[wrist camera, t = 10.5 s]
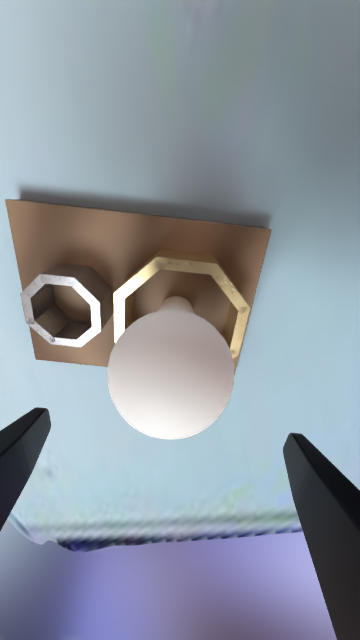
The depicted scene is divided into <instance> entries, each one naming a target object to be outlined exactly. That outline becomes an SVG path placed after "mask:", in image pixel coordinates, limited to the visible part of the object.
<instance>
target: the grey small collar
mask: <svg viewBox="0 0 360 640" xmlns="http://www.w3.org/2000/svg"><path fill="white" fill-rule="evenodd" d="M53 284H55V285H64V286H72V287H73V288H74V289H75V290H76V291H77V292H78V293H79V294H80V295H81V296H82V297H83V298H84V299H85V300H86V301H87V302H88V303H89V304H90V305H91V319H92V321H84V320H75V319H71V318H70V317H69V316H68V315H67V314H66V313H65V312H63V311H62V310H61V309H60V308H59V307H58V306H57V305H56V302H55V295H54V287H53ZM20 295H21V300H22V305H23V310H24V315H25V320H26V323H27V324H28V325H29V326H30V327H31V328H32V329H34V330H35V331H36V332H37V333H38V334H40V335H41V336H42V337H43V338H44V339H45V340H47V341H48V342H49V343H50V344H55V345H64V346H73V347H82V346H83V345H84V344H85V343H87V342H88V341H89V340H90V339H92V338H93V337H94V336H95V335H97V334H98V333H99V332H100V331H101V330H102V329H103V328H104V326H105V325H106V323H107V322H108V320H109V319H110V317H111V316H112V315H113V288H112V287H111V286H110V285H109V284H108V283H107V282H106V281H105V280H104V279H103V278H102V277H101V276H100V275H99V274H98V272H97V271H96V270H95V269H94V268H93V267H92V266H84V265H75V264H65V263H62V264H59V265H57V266H55V267H53V268H51V269H49V270H47V271H45V272H43V273H40V275H39V276H38V277H37V278H36V279H35V280H34V281H33V282H32V283H31V284H30V285H29V286H28V287H27V288H26V289H25V290H24V291H23V292H22V293H21V294H20Z"/></svg>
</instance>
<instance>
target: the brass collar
mask: <svg viewBox="0 0 360 640" xmlns="http://www.w3.org/2000/svg"><path fill="white" fill-rule="evenodd" d="M160 269H164V270H173V271H182V272H191V273H200V274H209V275H211V276H212V277H213V278H214V280H215V281H216V282H217V284H218V285H219V286H220V288H221V289H222V290H223V291H224V293H225V294H226V295H227V297H228V298H229V299H230V305H229V309H228V314H227V319H226V324H225V329H224V331H223V332H221V333H220V334H221V335H222V337H223V338H224V339H225V341H226V343H227V345H228V347H229V349H230V352H231V355H232V359H233V358H235V357H236V356H238V355H239V351H240V347H241V343H242V339H243V335H244V331H245V327H246V323H247V319H248V315H249V311H250V307H249V305H248V303H247V302H246V300H245V298H244V297H243V295H242V293H241V292H240V290H239V289H238V288H237V286H236V285H235V284H234V282H233V281H232V280H231V278H230V277H229V275H228V274H227V273H226V271H225V270H224V269H223V267H222V266H221V265H220V263H219V262H218V261H217V259H216V258H215V257H214V255H213V254H205V253H196V252H188V251H179V250H170V249H160V250H159V251H158V252H157V253H156V254H155V255H153V256H152V257H151V258H150V259H149V260H148V261H146V262H145V263H144V264H143V265H142V266H141V267H139V268H138V269H137V270H136V271H135V272H134V273H132V274H131V275H130V276H129V277H128V278H127V279H125V280H124V281H123V283H122V284H121V285H120V286H119V287H118V289H117V290H116V291H115V292H114V338H115V343H116V341H117V339H118V338H119V337H120V335H121V334H122V333H123V332H124V330H125V329H127V328H128V327H129V326H130V325H131V324H132V323H134V321H133V308H134V290H136V289H137V288H138V287H139V286H140V285H142V284H143V283H144V282H145V281H146V280H148V279H149V278H150V277H151V276H153V275H154V274H155V273H156V272H157V271H159V270H160Z"/></svg>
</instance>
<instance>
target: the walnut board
mask: <svg viewBox="0 0 360 640" xmlns="http://www.w3.org/2000/svg"><path fill="white" fill-rule="evenodd" d="M5 202H6V207H7V212H8V217H9V223H10V228H11V233H12V238H13V243H14V249H15V254H16V259H17V264H18V270H19V275H20V280H21V285H22V290H23V291H24V290H25V289H26V288H27V287H28V286H29V285H30V284H31V283H32V282H33V281H34V280H35V279H36V278H37V277H38V276H39V275H40V273H43V272H45V271H47V270H49V269H51V268H53V267H55V266H57V265H59V264H62V263H65V264H75V265H84V266H92V267H93V268H94V269H95V270H96V271H97V272H98V274H99V275H100V276H101V277H102V278H103V279H104V280H105V281H106V282H107V283H108V284H109V285H110V286H111V287H112V288H113V315H112V316H111V317H110V319H109V320H108V322H107V323H106V325H105V326H104V328H103V329H102V330H101V331H100V332H99V333H98V334H97V335H95V336H94V337H93V338H92V339H90V340H89V341H88V342H87V343H85V344H84V345H83V346H82V347H73V346H64V345H55V344H50V343H49V342H48V341H47V340H45V339H44V338H43V337H42V336H41V335H40V334H38V333H37V332H36V331H35V330H34V329H32V328H31V327H30V326H29V327H30V332H31V337H32V343H33V348H34V353H35V358H36V359H37V360H47V361H56V362H66V363H75V364H85V365H94V366H104V367H108V363H109V358H110V354H111V352H112V350H113V348H114V346H115V344H116V343H115V338H114V292H115V291H116V290H117V289H118V287H119V286H120V285H121V284H122V283H123V281H124V280H125V279H127V278H128V277H129V276H130V275H131V274H132V273H134V272H135V271H136V270H137V269H138V268H139V267H141V266H142V265H143V264H144V263H145V262H146V261H148V260H149V259H150V258H151V257H152V256H153V255H155V254H156V253H157V252H158V251H159V250H160V249H170V250H179V251H188V252H196V253H205V254H213V255H214V257H215V258H216V259H217V261H218V262H219V263H220V265H221V266H222V267H223V269H224V270H225V271H226V273H227V274H228V275H229V277H230V278H231V280H232V281H233V282H234V284H235V285H236V286H237V288H238V289H239V290H240V292H241V293H242V295H243V297H244V298H245V300H246V302H247V303H248V305H249V307H250V311H249V315H248V319H247V323H246V327H245V331H246V328H247V324H248V320H249V316H250V312H251V308H252V304H253V300H254V296H255V292H256V288H257V284H258V280H259V276H260V272H261V268H262V264H263V260H264V256H265V253H266V249H267V245H268V241H269V237H270V233H271V230H270V229H267V228H263V227H254V226H245V225H237V224H228V223H219V222H210V221H202V220H193V219H184V218H175V217H167V216H158V215H149V214H140V213H132V212H123V211H114V210H105V209H97V208H88V207H79V206H70V205H62V204H53V203H44V202H35V201H27V200H10V199H5ZM53 287H54V295H55V302H56V305H57V306H58V307H59V308H60V309H61V310H62V311H63V312H65V313H66V314H67V315H68V316H69V317H70V318H71V319H75V320H84V321H92V319H91V305H90V304H89V303H88V302H87V301H86V300H85V299H84V298H83V297H82V296H81V295H80V294H79V293H78V292H77V291H76V290H75V289H74V288H73V287H72V286H64V285H55V284H53ZM172 296H180V297H183V298H185V299H186V300H188V301H189V302H190V304H191V306H192V308H193V312H194V313H195V314H196V315H197V316H199V317H201V318H203V319H205V320H206V321H208V322H209V323H210V324H212V325H213V326H214V327H215V328H216V329H217V331H218V332H219V333H221V332H223V331H224V329H225V324H226V319H227V314H228V309H229V305H230V299H229V298H228V297H227V295H226V294H225V293H224V291H223V290H222V289H221V288H220V286H219V285H218V284H217V282H216V281H215V280H214V278H213V277H212V276H211V275H209V274H200V273H191V272H182V271H173V270H164V269H160V270H159V271H157V272H156V273H155V274H154V275H153V276H151V277H150V278H149V279H148V280H146V281H145V282H144V283H143V284H142V285H140V286H139V287H138V288H137V289H136V290H134V308H133V321H134V322H135V321H136V320H138V319H139V318H141V317H143V316H145V315H147V314H150V313H153V312H157V310H158V309H160V307H161V305H162V303H163V302H164V300H166V299H167V298H169V297H172ZM245 331H244V335H245ZM244 335H243V339H244ZM243 339H242V343H243ZM242 343H241V347H242ZM241 347H240V351H241ZM240 351H239V355H240ZM239 355H238V356H236V357H235V358H233V363H234V375H235V371H236V367H237V363H238V359H239Z"/></svg>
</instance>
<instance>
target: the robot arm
mask: <svg viewBox="0 0 360 640" xmlns="http://www.w3.org/2000/svg"><path fill="white" fill-rule="evenodd" d="M50 428H51V421H50V416H49V411H48V409H46V408H34V409H33V410H31V411H30V412H28V413H27V414H25V415H24V416H22V417H20V418H19V419H17V420H16V421H14V422H13V423H11V424H10V425H8V426H7V427H5V428H4V429H2V430H1V431H0V531H1V529H2V527H3V525H4V523H5V522H6V520H7V518H8V516H9V514H10V512H11V510H12V509H13V507H14V505H15V503H16V501H17V499H18V498H19V496H20V494H21V492H22V490H23V488H24V487H25V485H26V483H27V481H28V479H29V477H30V475H31V473H32V471H33V469H34V467H35V464H36V462H37V460H38V457H39V455H40V452H41V450H42V448H43V445H44V443H45V441H46V438H47V436H48V434H49V431H50ZM283 454H284V459H285V464H286V468H287V473H288V478H289V482H290V487H291V492H292V496H293V500H294V503H295V507H296V510H297V513H298V516H299V520H300V523H301V526H302V529H303V532H304V535H305V539H306V542H307V545H308V548H309V551H310V554H311V558H312V561H313V564H314V567H315V571H316V574H317V577H318V580H319V583H320V587H321V590H322V593H323V596H324V599H325V603H326V606H327V609H328V612H329V615H330V618H331V622H332V625H333V628H334V631H335V634H336V637H337V640H360V490H359V489H358V488H357V487H356V486H355V485H354V484H353V483H351V482H350V481H349V480H348V479H347V478H346V477H345V476H344V475H343V474H342V473H341V472H340V471H339V470H338V469H337V468H336V467H335V466H334V465H333V464H332V463H331V462H330V461H329V460H328V459H327V458H326V457H325V456H324V455H323V454H322V453H321V452H320V451H319V450H318V449H317V448H316V447H315V446H314V445H313V444H312V443H311V442H310V441H309V440H308V439H307V438H306V437H305V436H303V435H302V434H299V433H290V434H289V435H288V438H287V440H286V442H285V445H284V447H283Z"/></svg>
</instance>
